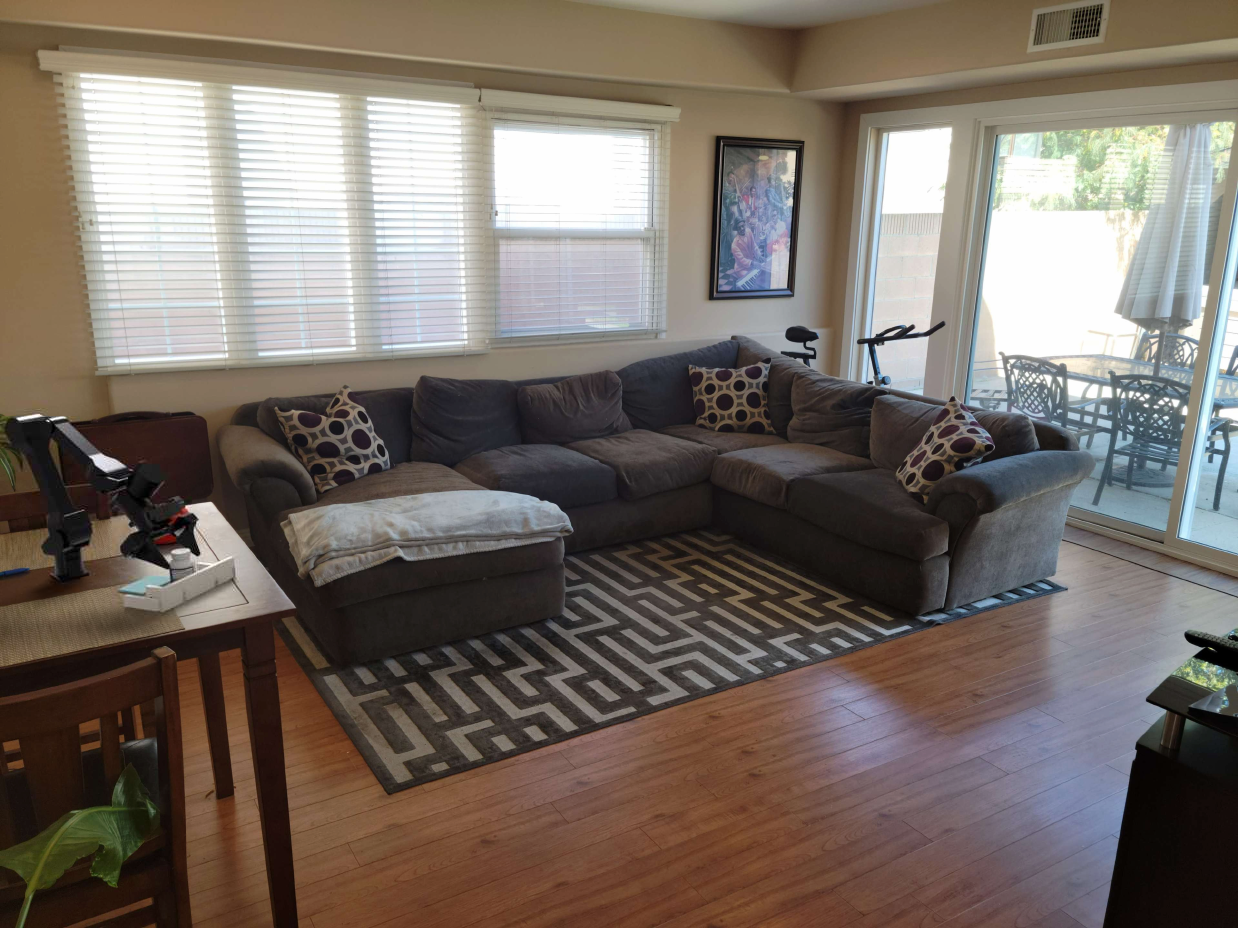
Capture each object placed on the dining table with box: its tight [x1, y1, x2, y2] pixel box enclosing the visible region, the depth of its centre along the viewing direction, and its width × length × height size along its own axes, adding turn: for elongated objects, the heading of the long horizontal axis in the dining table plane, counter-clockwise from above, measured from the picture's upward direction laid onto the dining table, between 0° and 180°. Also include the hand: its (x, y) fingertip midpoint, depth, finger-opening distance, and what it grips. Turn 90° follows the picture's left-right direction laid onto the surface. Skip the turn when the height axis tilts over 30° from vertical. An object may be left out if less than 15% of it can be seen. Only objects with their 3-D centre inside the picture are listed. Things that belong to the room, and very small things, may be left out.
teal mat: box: [117, 574, 171, 596], centre depth 208 cm, size 7×10×1 cm
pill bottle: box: [168, 547, 197, 584], centre depth 204 cm, size 5×5×10 cm
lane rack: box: [123, 556, 236, 613], centre depth 204 cm, size 10×23×5 cm, turn 164°
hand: (184, 561), depth 203 cm, fingers open, 9 cm apart
